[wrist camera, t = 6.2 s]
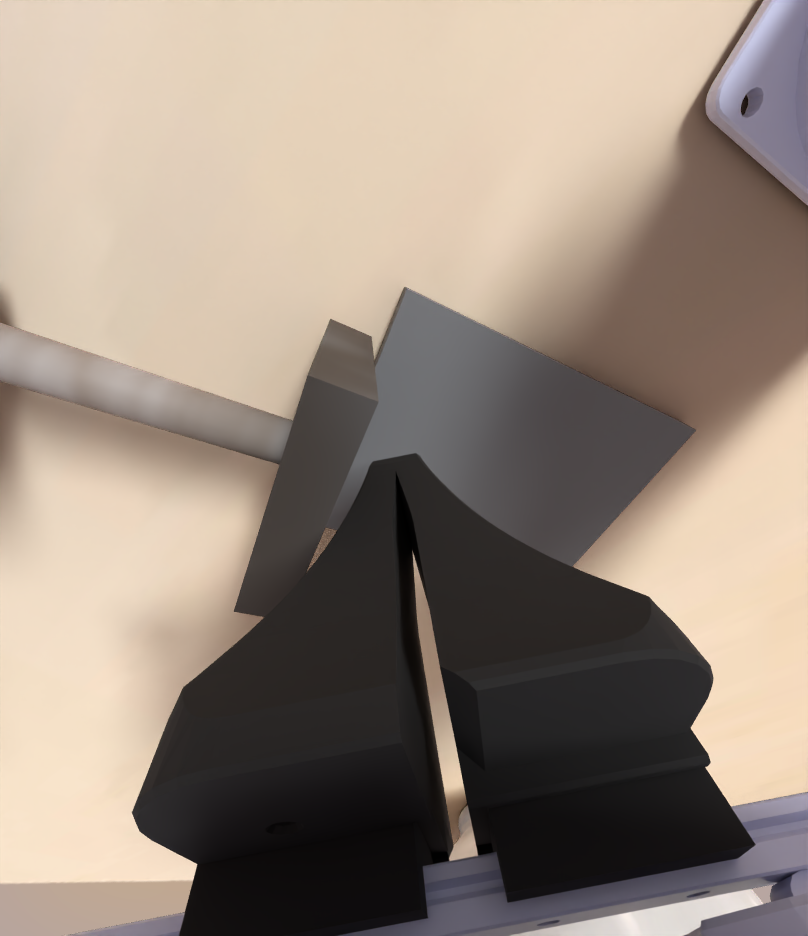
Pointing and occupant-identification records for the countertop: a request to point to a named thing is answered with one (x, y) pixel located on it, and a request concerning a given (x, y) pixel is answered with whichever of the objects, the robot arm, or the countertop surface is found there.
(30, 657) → the countertop surface
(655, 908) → the bowl
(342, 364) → the player rod
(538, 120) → the countertop surface
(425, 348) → the flat gray panel
